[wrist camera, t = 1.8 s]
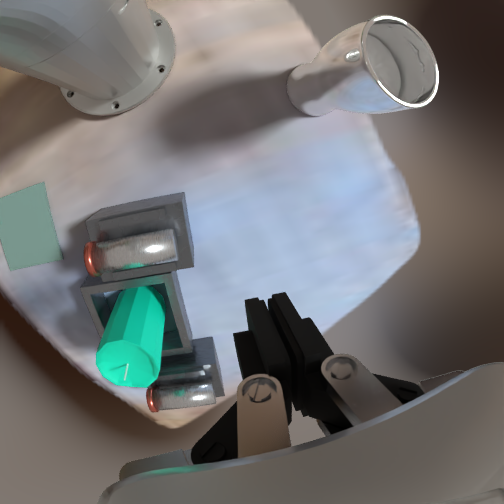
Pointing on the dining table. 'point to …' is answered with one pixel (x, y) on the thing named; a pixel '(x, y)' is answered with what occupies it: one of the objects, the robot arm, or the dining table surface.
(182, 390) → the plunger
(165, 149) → the dining table surface
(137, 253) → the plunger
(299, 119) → the dining table surface
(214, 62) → the dining table surface
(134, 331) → the candle
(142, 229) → the housing
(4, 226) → the pad
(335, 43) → the beer glass
